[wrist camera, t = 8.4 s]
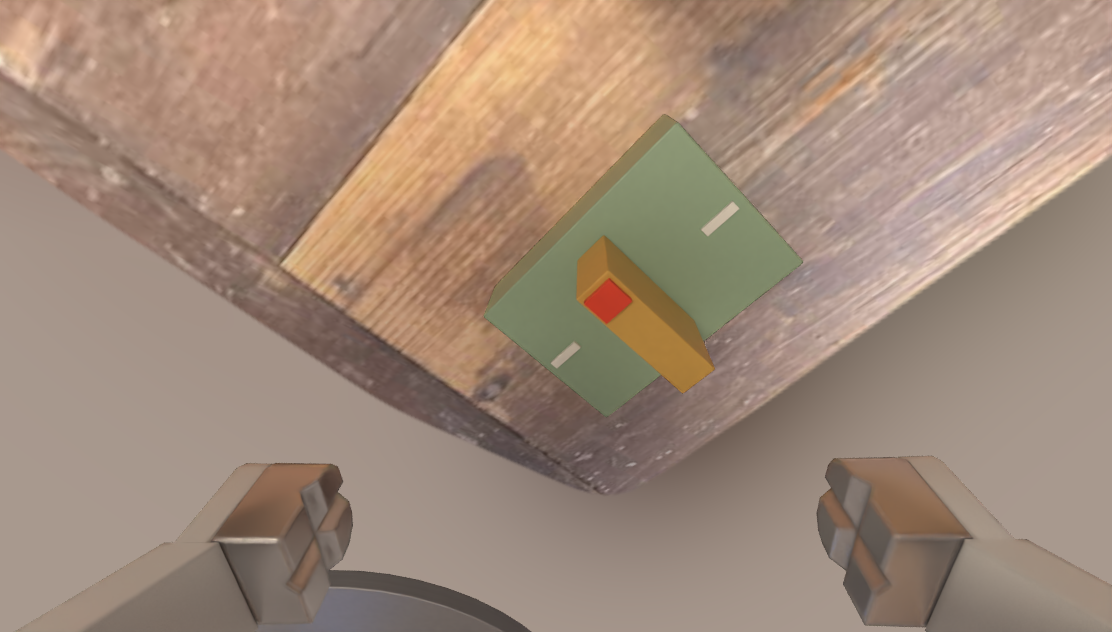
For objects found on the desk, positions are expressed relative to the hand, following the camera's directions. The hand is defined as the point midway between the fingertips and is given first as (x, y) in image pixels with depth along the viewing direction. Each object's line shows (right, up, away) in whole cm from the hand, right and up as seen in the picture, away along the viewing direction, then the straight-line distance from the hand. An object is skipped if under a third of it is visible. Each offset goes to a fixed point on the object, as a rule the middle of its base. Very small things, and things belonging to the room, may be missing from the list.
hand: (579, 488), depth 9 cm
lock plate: (+3, +5, +13) cm, 15 cm away
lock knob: (+3, +4, +11) cm, 12 cm away
